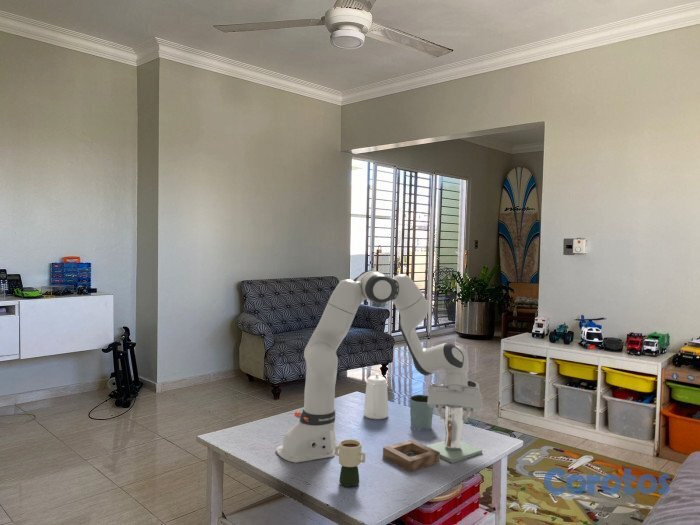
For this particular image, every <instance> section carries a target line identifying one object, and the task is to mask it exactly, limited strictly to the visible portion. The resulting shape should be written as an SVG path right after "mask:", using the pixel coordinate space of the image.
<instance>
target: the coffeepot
mask: <svg viewBox="0 0 700 525" xmlns="http://www.w3.org/2000/svg"><path fill="white" fill-rule="evenodd" d="M365 382H366V386H365V394H364V402H363V403H364V404H363V405H364V406H363V416H364V417H365V418H367V419H370V420H383V419H386V418H388V416H389V401H388V400H389V399H388V398H389V397H388V396H389V395H388V380H387V379H386V378H385V377H384V376H383V375H382V376H381V375H380V373H378V372H377V373H374V375H371V376H368V378H367V379H366V380H365Z"/></svg>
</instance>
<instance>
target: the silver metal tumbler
mask: <svg viewBox="0 0 700 525" xmlns="http://www.w3.org/2000/svg"><path fill="white" fill-rule="evenodd" d="M447 404H448V403H447ZM447 404H445V409H444V411H443V413H444V419H443V420H444V430H445V439H444V440H445V444H444V445H445V446H446V447H448V448H451V449H458V448H461V441H462V439H461V436H462V432H463V431H462V430H463V424H464V421H463V416H464V415H465V413H464V412H465V411H463V405H461V406H462V407H455V406H447Z"/></svg>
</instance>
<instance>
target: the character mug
mask: <svg viewBox="0 0 700 525" xmlns="http://www.w3.org/2000/svg"><path fill="white" fill-rule="evenodd" d="M362 446H363V445H362V442H361V441H359V440H357V439H352V438H349V439H348V438H347V439H343V440H340V441H339V442H338V444H337V445H336V447H335V455H334V456H337V457H338V463H339V465H340V473H339V484H341V486H344V487H352V486H357V485H358V484H360V473H359V467H358V466H359V465H360V464H361V463H363V464H365V462H366V453H365V452H364V451H362Z"/></svg>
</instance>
